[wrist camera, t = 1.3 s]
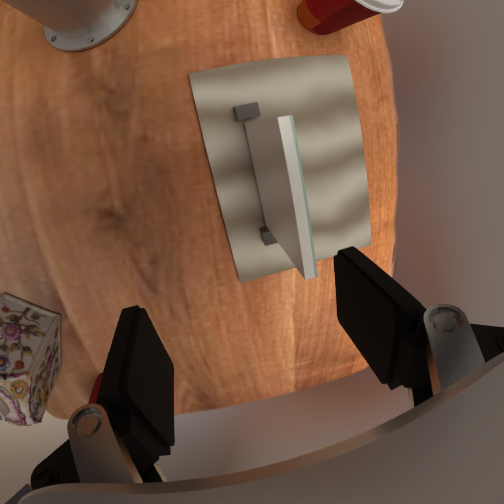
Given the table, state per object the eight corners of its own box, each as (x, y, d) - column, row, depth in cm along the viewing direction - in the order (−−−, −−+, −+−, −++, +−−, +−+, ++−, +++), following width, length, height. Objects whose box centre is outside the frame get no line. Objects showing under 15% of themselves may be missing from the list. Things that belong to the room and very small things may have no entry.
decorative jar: (9, 342, 36) (-30, 416, 19) (2, 289, 32) (-55, 363, 16) (64, 365, 39) (36, 449, 23) (63, 314, 36) (19, 405, 20)
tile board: (188, 76, 28) (188, 70, 25) (342, 56, 29) (354, 51, 26) (239, 278, 39) (242, 290, 36) (366, 241, 40) (378, 250, 37)
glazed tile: (242, 123, 30) (275, 117, 17) (252, 121, 30) (293, 114, 17) (263, 224, 35) (304, 280, 22) (273, 221, 35) (318, 276, 22)
